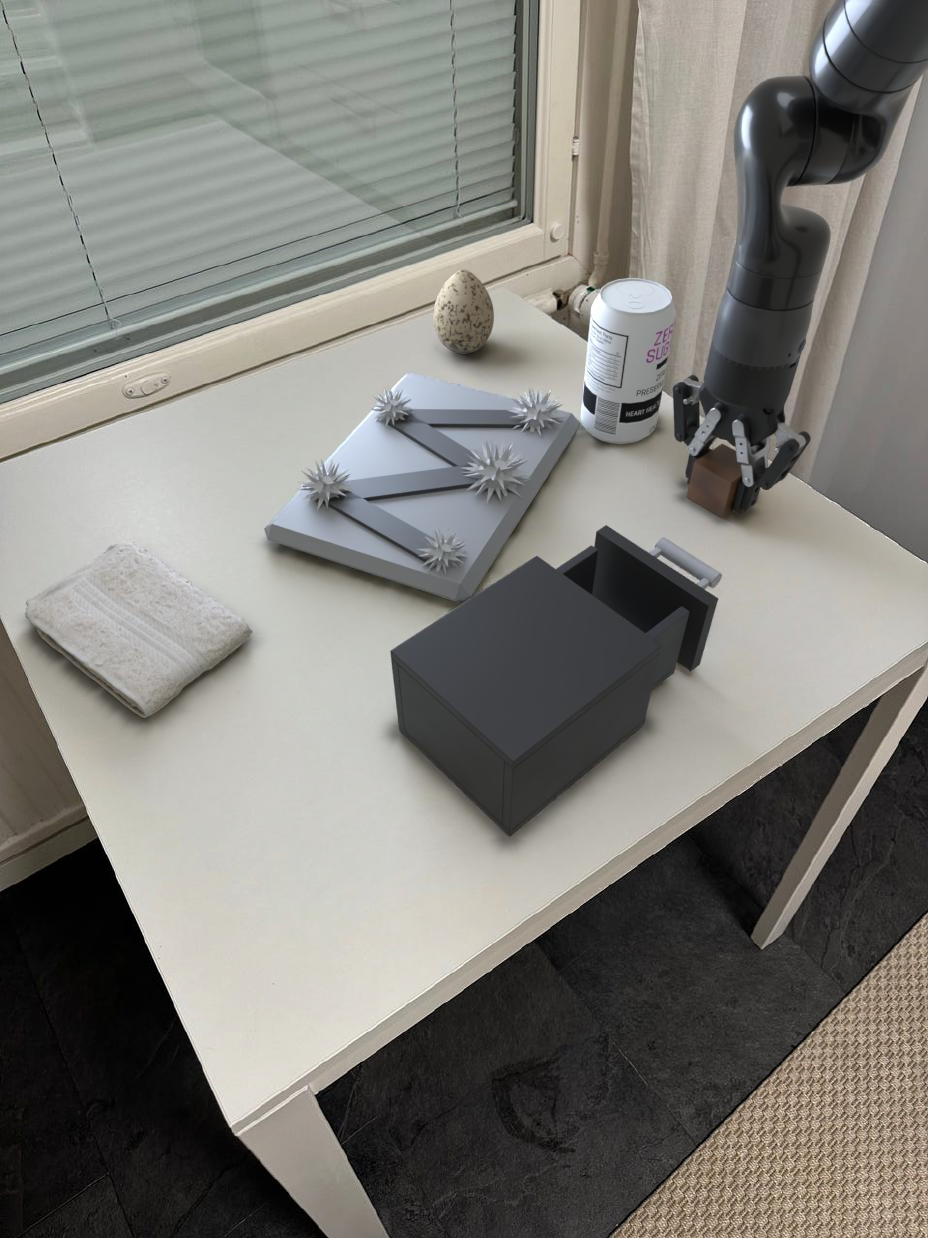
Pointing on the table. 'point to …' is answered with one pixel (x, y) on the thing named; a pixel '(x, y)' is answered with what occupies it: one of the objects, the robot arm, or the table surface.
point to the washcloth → (135, 626)
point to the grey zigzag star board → (428, 484)
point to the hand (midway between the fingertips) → (718, 495)
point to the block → (716, 480)
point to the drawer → (651, 594)
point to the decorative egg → (463, 313)
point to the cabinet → (523, 690)
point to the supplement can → (626, 359)
